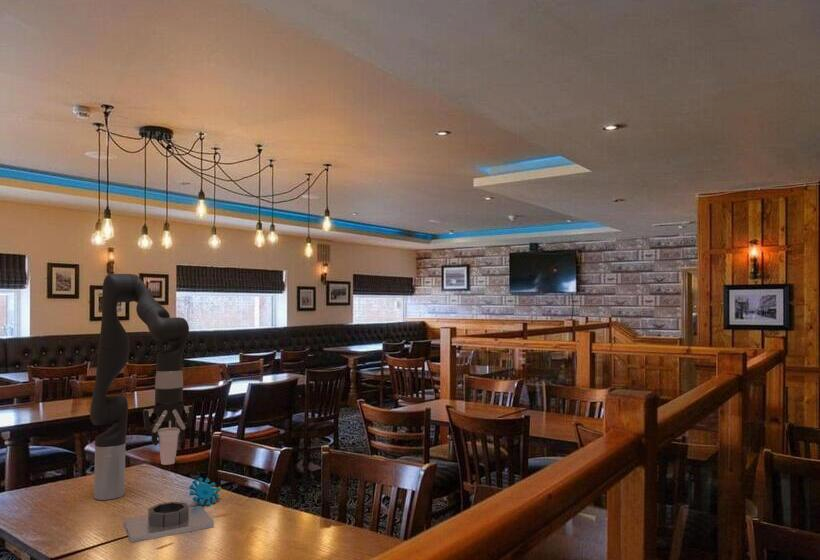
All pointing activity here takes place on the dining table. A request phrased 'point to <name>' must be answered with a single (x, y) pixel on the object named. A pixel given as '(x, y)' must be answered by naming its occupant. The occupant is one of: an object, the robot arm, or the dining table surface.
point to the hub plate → (167, 521)
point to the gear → (204, 491)
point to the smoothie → (168, 444)
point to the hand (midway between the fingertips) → (168, 443)
